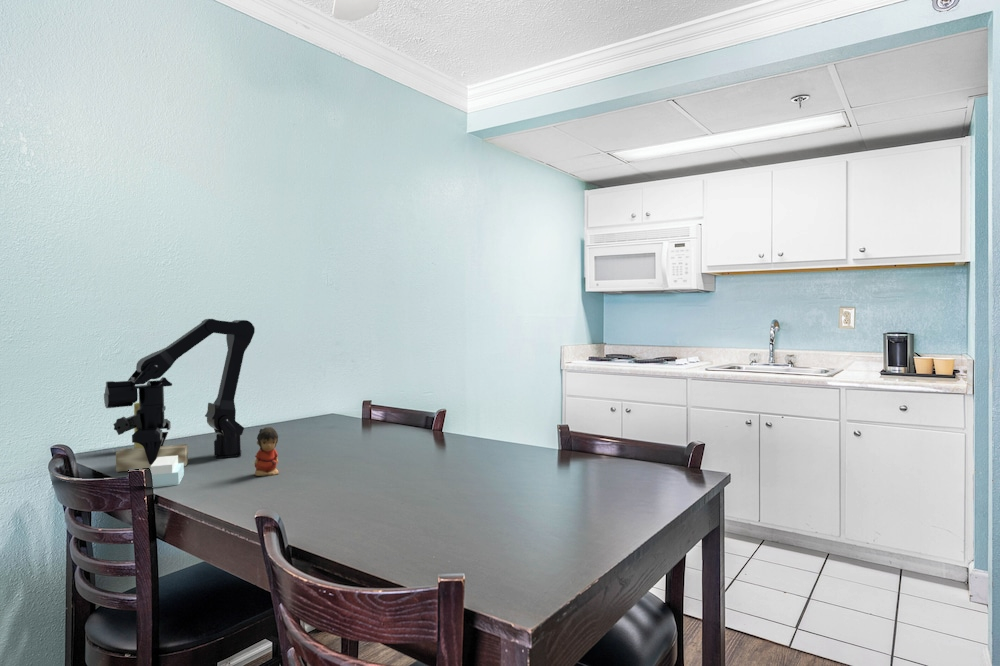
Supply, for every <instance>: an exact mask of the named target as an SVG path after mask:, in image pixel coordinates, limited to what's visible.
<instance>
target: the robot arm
mask: <svg viewBox="0 0 1000 666" xmlns="http://www.w3.org/2000/svg"><path fill="white" fill-rule="evenodd" d="M255 330H256V329H255V326H254V325H253V323H252V322H251V321H249V320H247V319H235V320H232V321H229V320H228V321H227V320H219V319H216V318H205V319H203V320H202V321H201V322H200V323H199V324H197V325H196V326H194V327H193V328H191V330H189V331H187V332H186V333H184V334H183V335H182V336H180V337H179V338H177V339H176V340H174V341H173V342H172V343H170V344H169V345H167V346H166V347H164V348H161V349H160V350H156V351H154V352H152V353H150V354H148V355H146V356H144V357H142V358H141V359H139V360H138V361H137V363H136V366H135V367H136V369H135V371H134V372H133V373H132V374H131V375H130V377H129V378H128V379H127V380H121V381H113V380H110V381H107V380H106V382H105V387H104V394H103V399H104V400H103V402H104V407H105V408H106V409H114V408H123V407H124V408H125V407H133V406H134V404H135V403H139V409H138V410H137V411H136V415H134V414H133V415H130V416H128V417H126V416H122V417H120V418H117V419H116V421H115V422H114V423H113V430H114V431H116V433H117V435H118V436H119V435H122V434H124V433H126V432H128V431H130V430H134V428H136V430H137V431H136V432H135V433H133V434H132V435H131V443H139V444H141V445H142V446H143V447H144V450H145V453H146V456H147V459H148V462H149V464H150V465H151V464H153V463H154V461H155V460H156V458H157V455H158V452H159V450H160V447H161V446H164V444H165V441H166V439H167V436H168V434H169V431H170V430H171V428H172V427H171V421H170V420H168V419H167V418H165V411H166V405H165V391H164V389H165V387H172V386H173V383H172V382H171V381H169V380H168V379H167V377H164V375H165V374H166V372H167V371H169V370H170V369H171V367H173V365H174V363H175V362H176V361H177V360H179V358H180V357H182V356H183V355H184V354H186V353H188V352H189V351H190V350H192V349H193V348H194V347H196V346H197V345H199V344H200V343H201V342H203V341H204V340H205V339H206V338H209V336H211V335H212V334H218V335H219V334H220V335H226V337H225V338H226V340H225V341H226V344H227V346H226V347H227V352H226V357H225V359H224V360H225V361H224V365H223V370H222V375H221V379H220V384H219V389H218V393H217V397H216V398H215V400H214V402H213V403H212V402H208V404H207V410H206V414H205V415H204V417H205V418H206V423H207V425H208V426H209V427H210V428H212V429H213V430H214V434H215V433H216V435H215V439H214V441H213V444H214V445H213V448H214V449H213V450H214V456H215V459H223V458H234V457H242V453H243V452H242V439H241V438H242V437H241V436H242V435H243V433H244V431H245V428H244V426H242V425H241V424H240V423H239V422H238V421H236V411H237V410H236V403H235V397H236V392H237V387H238V383H239V379H240V374H241V369H242V365H243V360H244V357H245V356H244V355H245V352H246V350H247V349H248V347H249V346H250V344H251V343H252V339H253V337H254V334H255ZM157 379H158V380H157ZM159 379H160V380H159ZM163 430H166V431H163Z"/></svg>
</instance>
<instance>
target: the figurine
mask: <svg viewBox="0 0 1000 666" xmlns="http://www.w3.org/2000/svg"><path fill="white" fill-rule="evenodd" d="M258 432H259V433H258V434H257V437H256V439H257V441H256V444H257V445H258V446H259V447H260V448H259V450H258V451H257V453H256V455H255V456H254V457H255V458H256V459H255V460H254V468H255V471H254V476H257V477H263V476H264V477H267V476H270V477H271V476H276V475H279V474H280V473H279V470H278V469H277V464H278V463H279V459H278V455H279V454H278V452H277V450H276V447H277V445H278V444H277V443H278V442H279V435H278V432H277V431H276V429H275V428H273V427H271V426H266V427H264V428H260V429H259V431H258Z"/></svg>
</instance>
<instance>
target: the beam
mask: <svg viewBox="0 0 1000 666" xmlns="http://www.w3.org/2000/svg"><path fill="white" fill-rule="evenodd" d="M188 447H189V446H188V444H187V443H186V444H173V445H171V444H170V445H163V446H161V447H160V450H159V452H158V455H157V457H165V456H177V455H178V463H184V467H187V465H188V462H189V453H188V452H189V451H188ZM156 459H157V458H156ZM151 465H152V464H151ZM151 465H150V464H149V462H148V459H147V456H146V453H145V450H144V448H134V447H132V448H120V449H118V450H117V451H116V452H115V466H116V467H115V468H116V469H115V472H116V473H119V472H129V471H128V470H129V469H141V468H149V469H150V466H151ZM149 469H148V470H149Z"/></svg>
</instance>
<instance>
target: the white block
mask: <svg viewBox="0 0 1000 666" xmlns="http://www.w3.org/2000/svg"><path fill="white" fill-rule="evenodd" d="M150 470H151V473H152V479H153V485H154V487H153V488H160V487H169V486H170V487H171V486H179V484H180V483H181V481H182V479H183V477H184V475H185V466H184V463H178V455H177V456H165V457H157V459H156V460H155V461H154V463H153V464H152V465H151V466H150Z"/></svg>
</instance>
